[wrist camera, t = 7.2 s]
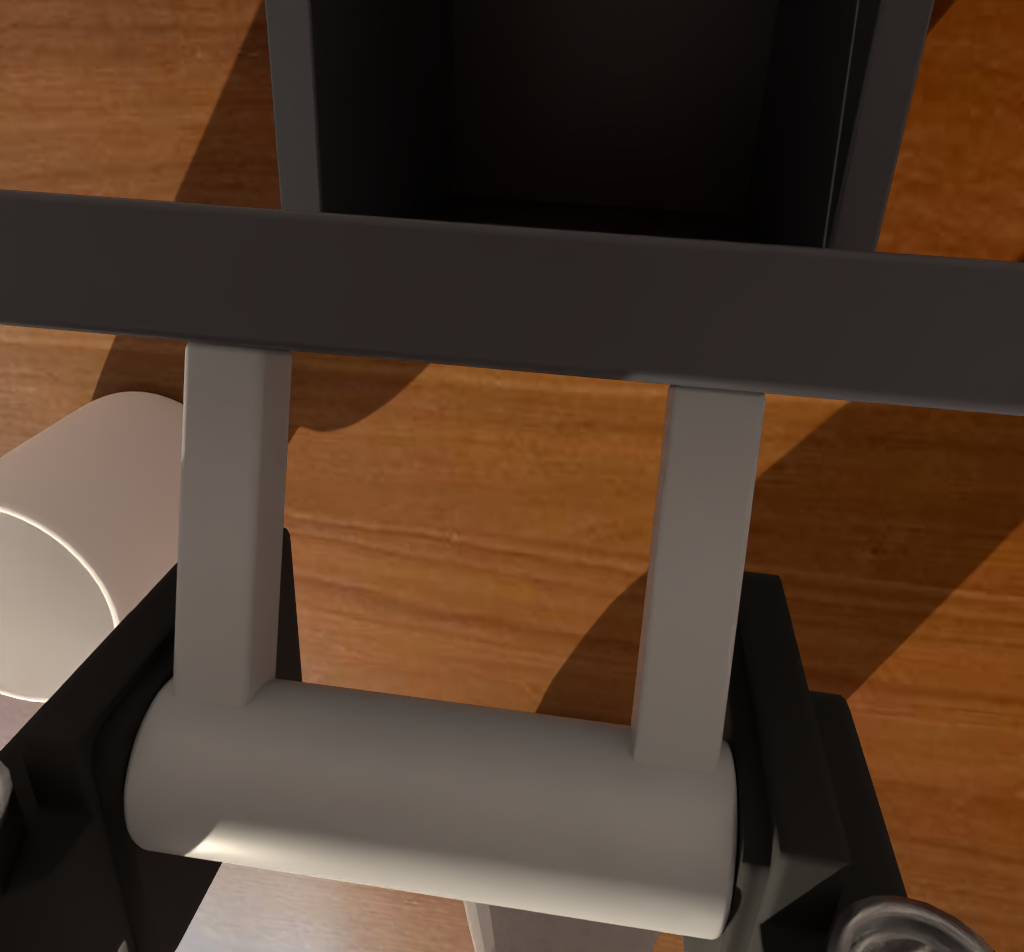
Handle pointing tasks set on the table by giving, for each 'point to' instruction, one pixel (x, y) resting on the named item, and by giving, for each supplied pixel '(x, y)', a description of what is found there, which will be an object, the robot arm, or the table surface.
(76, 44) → the table surface
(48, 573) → the mug
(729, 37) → the dark grey storage bin
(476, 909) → the coffee pot
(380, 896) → the table surface
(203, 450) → the chamber lid
